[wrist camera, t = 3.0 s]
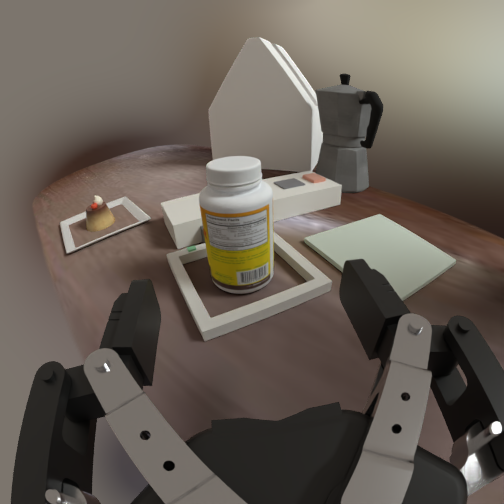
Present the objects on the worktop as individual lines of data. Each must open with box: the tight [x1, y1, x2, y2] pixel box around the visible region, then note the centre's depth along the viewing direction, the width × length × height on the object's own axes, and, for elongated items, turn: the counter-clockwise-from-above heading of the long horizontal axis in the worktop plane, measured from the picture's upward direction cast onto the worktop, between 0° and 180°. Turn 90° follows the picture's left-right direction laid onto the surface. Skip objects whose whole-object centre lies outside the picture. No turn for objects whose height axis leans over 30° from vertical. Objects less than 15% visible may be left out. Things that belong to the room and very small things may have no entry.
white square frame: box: [166, 232, 332, 341], centre depth 25 cm, size 11×11×1 cm
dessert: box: [60, 196, 151, 253], centre depth 36 cm, size 12×12×5 cm
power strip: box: [161, 171, 342, 249], centre depth 34 cm, size 22×10×3 cm, turn 117°
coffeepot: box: [316, 74, 383, 193], centre depth 39 cm, size 15×9×18 cm, turn 15°
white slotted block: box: [208, 37, 323, 172], centre depth 52 cm, size 19×15×25 cm
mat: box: [304, 214, 456, 301], centre depth 27 cm, size 12×12×1 cm
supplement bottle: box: [199, 156, 274, 294], centre depth 23 cm, size 6×6×10 cm
